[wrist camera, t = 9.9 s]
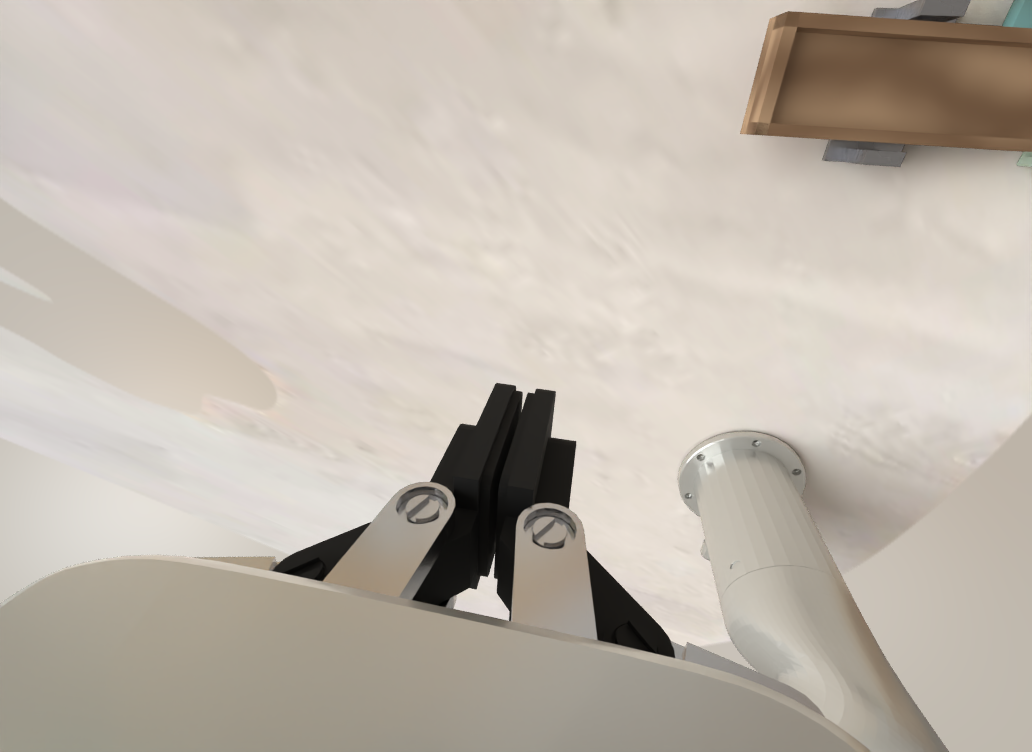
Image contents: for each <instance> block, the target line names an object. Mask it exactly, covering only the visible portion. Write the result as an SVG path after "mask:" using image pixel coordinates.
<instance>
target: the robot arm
mask: <svg viewBox="0 0 1032 752" xmlns="http://www.w3.org/2000/svg"><path fill="white" fill-rule="evenodd" d="M555 395H556V391H550V390H543V389H536V391H535V394H534V393H528V394H527V397H526V400H525V403H524V406H523V409H522V396H523V394H522V392H520V391H516V386H514V385H507V384H500V383H496V384H495V386H494V388H493V391H492V393H491V395H490V397H489V399H488V401H487V404H486V406H485V408H484V410H483V412H482V414H481V417H480V419H479V421H478V423H477V425H476V426H474V425H467V424H460V426H459V427H458V429H457V431H456V433H455V435H454V437H453V439H452V440H451V442H450V444H449V446H448V448H447V450H446V452H445V454H444V456H443V458H442V460H441V462H440V464H439V466H438V467H437V469H436V471H435V473H434V475H433V477H432V479H431V481H430V482H418V483H415V484H411V485H408V486H406V487H404V488H402V489H401V490H399V491H398V492H397V493H396V494H395V495H394V496H393V497H392V498H391V500H390V501H389V502H388V503H387V504H386V506H385V507H384V508H383V509H382V510H381V512H380V513H379V514H378V515H377V516H376V518H375V519H374V520H373V521H372V522H370V523H367V524H365V525H362V526H360V527H358V528H355V529H353V530H350V531H348V532H345V533H343V534H340V535H338V536H335V537H333V538H330V539H328V540H325V541H323V542H321V543H318V544H316V545H313V546H311V547H308V548H306V549H303V550H301V551H298V552H296V553H294V554H292V555H290V556H288V557H287V558H285V559H284V560H283V561H281V562H276V559H275V557H197V558H196V557H194V558H193V557H192V558H191V557H184V556H168V555H134V556H121V557H113V558H106V559H98V560H94V561H89V562H84V563H80V564H77V565H73V566H70V567H66V568H63V569H61V570H58V571H56V572H53V573H51V574H48V575H47V576H45V577H43V578H41V579H39V580H37V581H35V582H33V583H31V584H30V585H28V586H26V587H25V588H23V589H21V590H20V591H18V592H17V593H15V594H13V595H12V596H10V597H9V598H7V599H6V600H4V601H3V602H1V603H0V752H949V751H948V749H947V748H946V747H945V745H944V744H943V742H942V741H941V739H940V738H939V737H938V735H937V734H936V732H935V731H934V729H933V728H932V727H931V725H930V724H929V722H928V721H927V719H926V718H925V717H924V715H923V714H922V712H921V711H920V709H919V708H918V707H917V705H916V704H915V702H914V701H913V699H912V698H911V696H910V695H909V693H908V692H907V691H906V689H905V687H904V686H903V685H902V683H901V681H900V680H899V678H898V676H897V675H896V673H895V672H894V670H893V669H892V667H891V666H890V664H889V662H888V661H887V659H886V658H885V656H884V654H883V652H882V651H881V649H880V647H879V645H878V644H877V642H876V640H875V638H874V636H873V635H872V633H871V631H870V629H869V627H868V625H867V624H866V622H865V620H864V618H863V616H862V614H861V612H860V611H859V609H858V607H857V605H856V603H855V601H854V599H853V597H852V595H851V593H850V591H849V589H848V587H847V586H846V583H845V582H844V580H843V578H842V576H841V574H840V572H839V570H838V568H837V566H836V564H835V562H834V560H833V558H832V556H831V554H830V552H829V550H828V548H827V547H826V545H825V543H824V541H823V539H822V537H821V535H820V533H819V531H818V529H817V527H816V525H815V523H814V521H813V519H812V517H811V515H810V513H809V511H808V510H807V508H806V506H805V504H804V502H803V500H802V498H801V496H802V494H803V492H804V489H805V486H806V473H805V469H804V466H803V464H802V462H801V460H800V458H799V457H798V455H797V454H796V453H795V451H794V450H793V449H792V448H791V447H790V446H788V445H787V444H786V443H784V442H783V441H781V440H779V439H777V438H775V437H772V436H770V435H767V434H763V433H757V432H744V431H740V432H731V433H726V434H722V435H718V436H715V437H713V438H710V439H708V440H706V441H704V442H702V443H701V444H699V445H698V446H696V447H695V448H694V449H693V450H692V451H691V452H690V453H689V454H688V455H687V456H686V458H685V459H684V460H683V462H682V464H681V466H680V469H679V473H678V486H679V491H680V495H681V497H682V499H683V501H684V503H685V504H686V505H687V507H688V508H689V509H690V510H691V511H692V512H694V513H695V514H696V515H697V516H699V517H700V518H701V522H702V527H703V531H704V536H705V540H704V542H703V545H702V548H701V550H700V552H701V555H702V556H703V557H704V558H705V559H707V560H709V561H710V562H711V566H712V571H713V575H714V580H715V584H716V588H717V593H718V597H719V602H720V606H721V611H722V615H723V619H724V623H725V626H726V629H727V632H728V634H729V636H730V639H731V641H732V642H733V644H734V645H735V647H736V648H737V650H738V651H739V653H740V654H741V655H742V656H743V657H744V659H745V660H746V661H747V662H748V663H749V664H750V665H751V666H752V667H753V668H755V669H756V671H758V672H759V673H758V672H756V671H754V670H751V669H749V668H747V667H744V666H742V665H740V664H737V663H735V662H733V661H730V660H728V659H725V658H723V657H721V656H719V655H716V654H714V653H711V652H709V651H707V650H704V649H702V648H700V647H697V646H695V645H693V644H690V643H688V642H687V644H686V647H683V646H681V645H679V644H676V643H674V642H672V641H670V639H669V637H668V636H667V634H666V633H665V632H664V630H663V629H662V628H661V626H660V625H659V624H658V623H657V622H656V621H655V620H654V619H653V618H652V617H651V616H650V615H649V614H648V613H647V612H646V611H645V610H644V609H643V608H642V607H641V606H640V605H639V604H638V603H637V602H636V601H635V600H634V599H633V598H632V597H631V595H630V594H629V593H628V592H627V591H626V590H625V589H624V588H623V587H622V586H621V585H620V584H619V583H618V582H617V581H616V580H615V579H614V578H613V577H612V576H611V575H610V574H609V573H608V572H607V571H606V570H605V569H604V568H603V567H602V566H601V564H600V563H599V562H598V561H597V560H596V559H595V558H594V557H593V556H592V555H591V554H590V553H589V552H588V551H587V550H586V542H585V534H584V528H583V525H582V522H581V521H580V519H579V518H578V517H577V515H576V514H575V513H573V512H572V511H571V510H569V502H570V493H571V484H572V476H573V467H574V458H575V450H576V441H570V440H564V439H557V438H551V431H552V422H553V413H554V404H555ZM521 410H522V412H521ZM494 554H495V568H494V578H496V579H498V581H497V594H498V595H499V597H500V598H501V600H502V601H503V602H504V604H505V605H506V607H507V608H508V610H509V611H510V613H509V621H507V620H502V619H498V618H493V617H488V616H484V615H479V614H474V613H469V612H465V611H460V610H455V609H453V608H454V605H455V602H456V595H457V594H459V593H461V592H463V591H464V590H466V589H468V588H472V589H477V586H478V582H479V579H480V576H486V577H488V575H489V572H490V569H491V565H492V561H493V558H494Z"/></svg>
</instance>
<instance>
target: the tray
mask: <svg viewBox="0 0 1032 752" xmlns="http://www.w3.org/2000/svg"><path fill="white" fill-rule="evenodd" d="M1017 165H1018V166H1029V167H1032V152H1023V154H1022V156H1021V157H1020V159H1019V161H1018V163H1017Z"/></svg>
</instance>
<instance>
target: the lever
mask: <svg viewBox="0 0 1032 752" xmlns="http://www.w3.org/2000/svg"><path fill="white" fill-rule="evenodd" d="M740 134H751V135H767V136H783V137H799V138H815V139H831V140H847V141H863V142H879V143H895V144H910V145H926V146H942V147H958V148H974V149H990V150H1006V151H1023V152H1032V0H1014V1H1013V3H1012V5H1011V8H1010V10H1009V12H1008V14H1007V16H1006V19H1005V21H1004V23H1003V25H1002V26H991V25H976V24H962V23H948V22H933V21H919V20H905V19H890V18H876V17H862V16H848V15H833V14H819V13H805V12H790V11H788V12H785V13H783V14H781V15H778V16H776V17H773V18H771V19H770V20H769V24H768V28H767V32H766V36H765V40H764V44H763V47H762V51H761V55H760V59H759V63H758V67H757V71H756V75H755V78H754V82H753V86H752V90H751V94H750V98H749V102H748V105H747V109H746V113H745V117H744V121H743V125H742V129H741V132H740Z"/></svg>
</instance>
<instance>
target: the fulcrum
mask: <svg viewBox="0 0 1032 752" xmlns="http://www.w3.org/2000/svg"><path fill="white" fill-rule="evenodd" d="M969 3H970V0H917V1H915V2H913V3H910V4H908V5H906V6H903V7H901V8H899V9H894V8H876V9H874V11H873V14H872V17H876V18H890V19H905V20H919V21H933V22H948V23H955V22H956V20H957V18H960V17H963V16H964V15H965V12H966V10H967V7H968V5H969ZM903 147H904V144H895V143H879V142H863V141H847V140H831V139H829V142H828V144H827V147H826V150H825V153H824V156H823V159H822V160H825V161H840V162H849V163H856V164H864V165H879V166H894V167H900V166H901V164H902V161H903V159H904V157H905V154H906V152H902V149H903Z"/></svg>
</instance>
